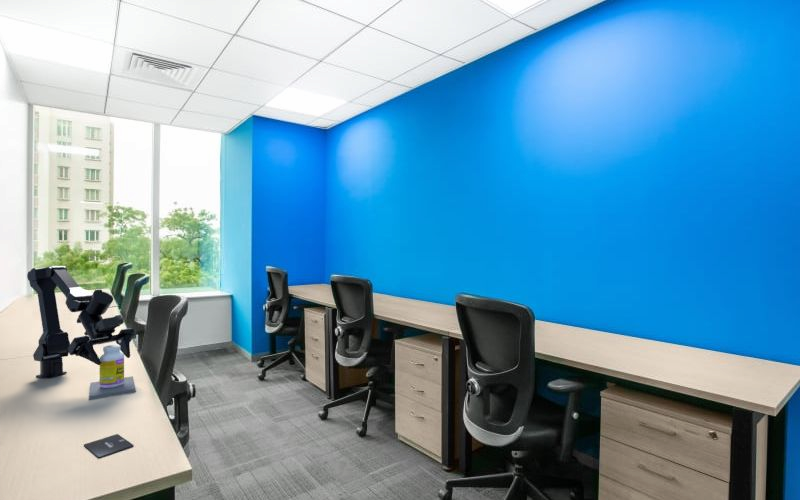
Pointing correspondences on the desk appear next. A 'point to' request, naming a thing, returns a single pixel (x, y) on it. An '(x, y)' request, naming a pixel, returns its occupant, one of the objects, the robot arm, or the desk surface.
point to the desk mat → (111, 389)
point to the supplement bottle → (111, 367)
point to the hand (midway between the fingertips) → (114, 360)
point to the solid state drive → (108, 445)
